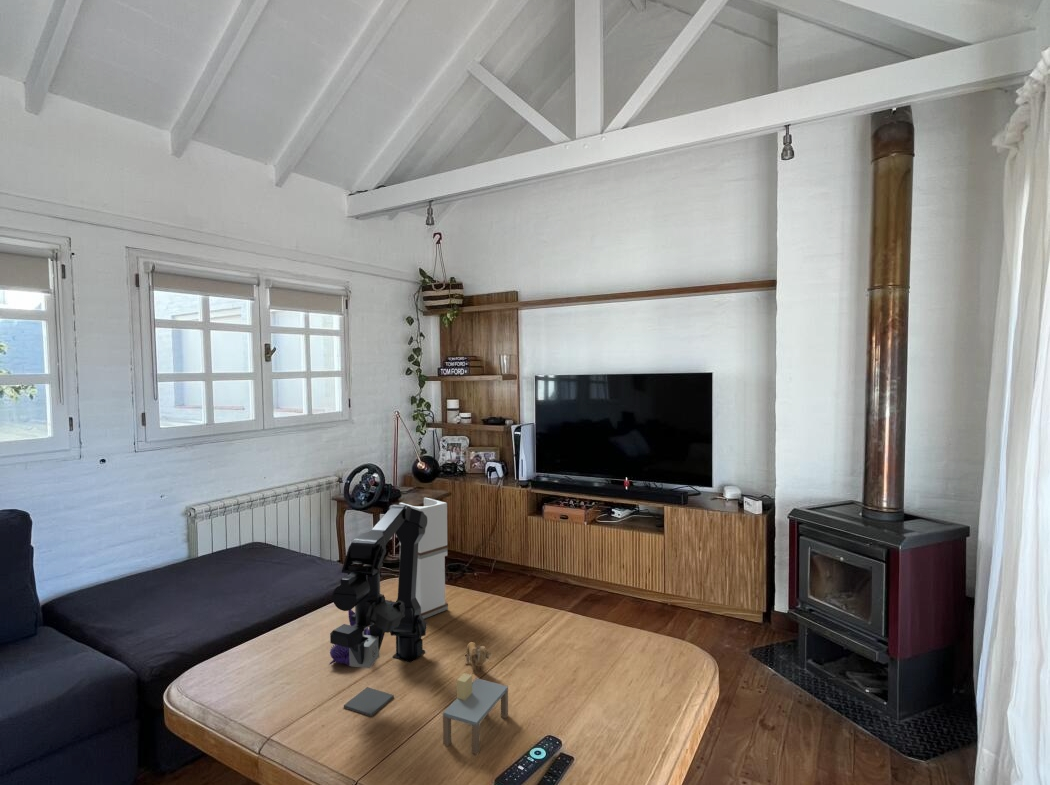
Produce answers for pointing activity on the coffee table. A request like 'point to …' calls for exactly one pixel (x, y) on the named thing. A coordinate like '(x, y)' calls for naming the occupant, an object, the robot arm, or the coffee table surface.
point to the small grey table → (474, 706)
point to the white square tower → (432, 558)
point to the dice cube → (367, 653)
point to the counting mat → (368, 701)
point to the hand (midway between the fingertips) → (368, 657)
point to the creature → (342, 653)
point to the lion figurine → (476, 656)
